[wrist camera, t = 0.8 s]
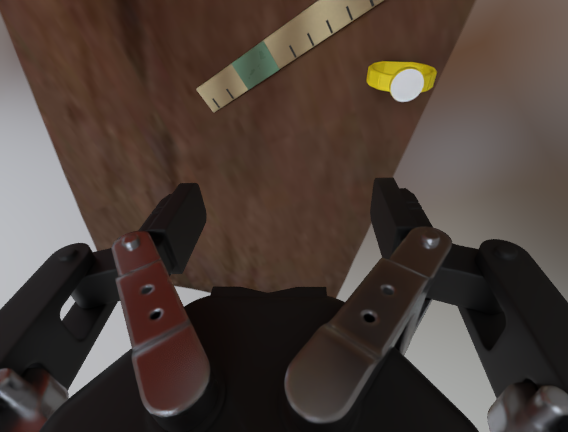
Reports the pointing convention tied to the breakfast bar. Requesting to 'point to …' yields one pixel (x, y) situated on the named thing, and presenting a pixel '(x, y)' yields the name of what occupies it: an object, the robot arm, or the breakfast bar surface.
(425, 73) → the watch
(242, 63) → the ruler
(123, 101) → the breakfast bar surface
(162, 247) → the robot arm
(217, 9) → the breakfast bar surface
